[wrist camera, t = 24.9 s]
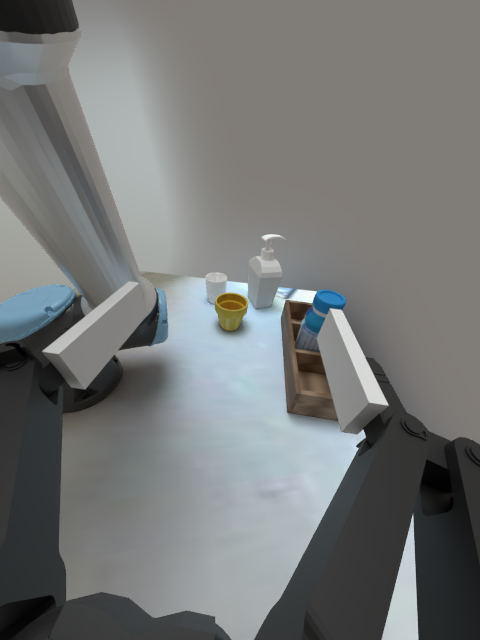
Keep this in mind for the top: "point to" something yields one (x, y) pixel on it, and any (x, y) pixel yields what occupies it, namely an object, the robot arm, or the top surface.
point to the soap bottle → (264, 275)
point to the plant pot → (230, 310)
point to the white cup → (215, 285)
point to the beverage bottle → (317, 319)
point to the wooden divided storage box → (303, 369)
